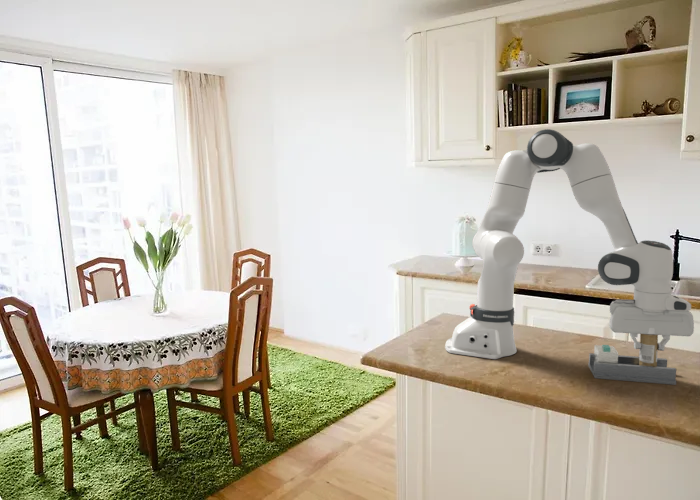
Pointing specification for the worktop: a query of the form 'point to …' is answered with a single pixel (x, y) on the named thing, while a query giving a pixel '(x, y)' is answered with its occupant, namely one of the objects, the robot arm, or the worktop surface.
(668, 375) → the rail
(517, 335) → the worktop surface
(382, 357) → the worktop surface
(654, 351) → the sprinkles bottle
